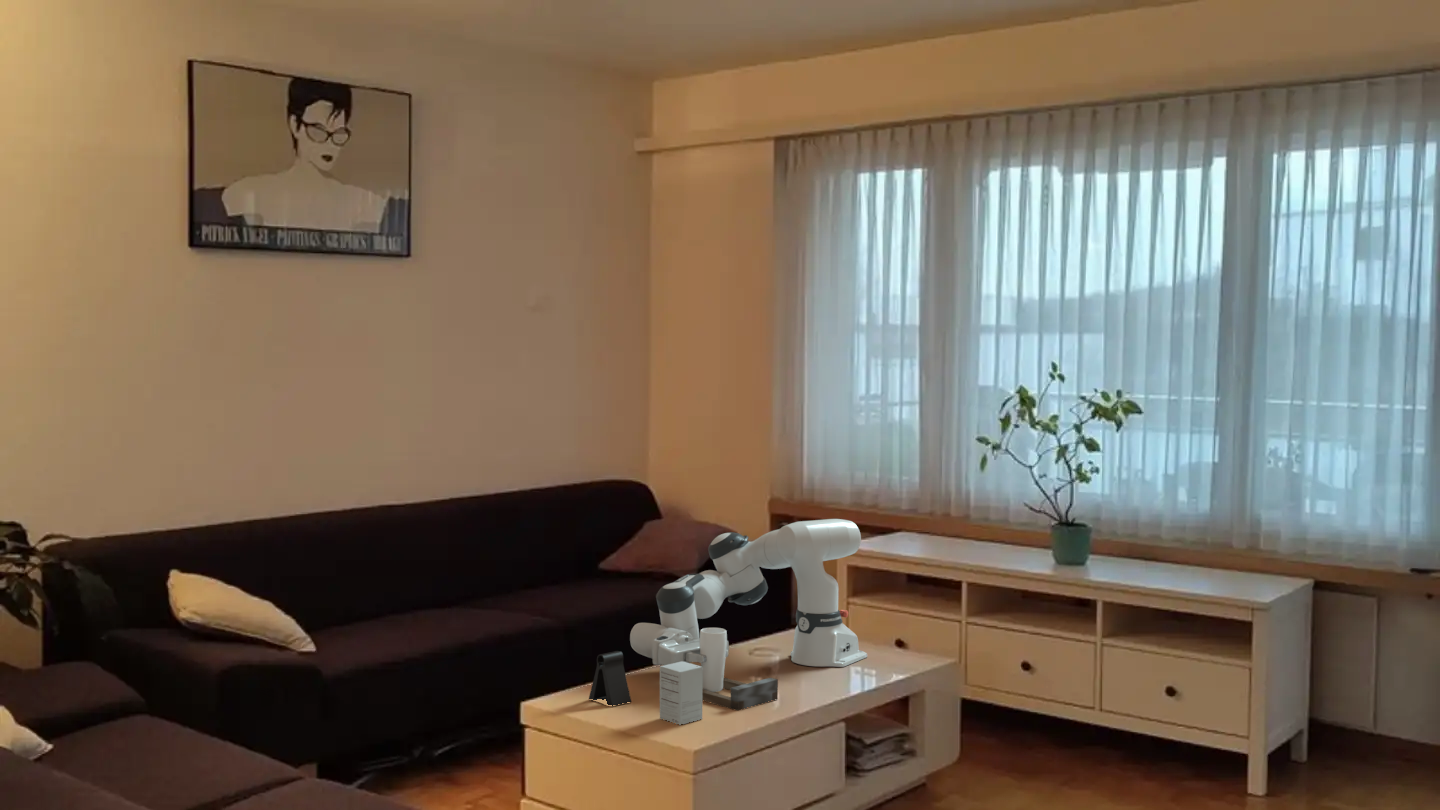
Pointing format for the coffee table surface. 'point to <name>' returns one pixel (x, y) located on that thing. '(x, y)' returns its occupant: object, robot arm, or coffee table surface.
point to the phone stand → (610, 679)
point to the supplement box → (681, 692)
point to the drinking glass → (713, 657)
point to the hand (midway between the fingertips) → (715, 656)
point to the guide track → (744, 693)
